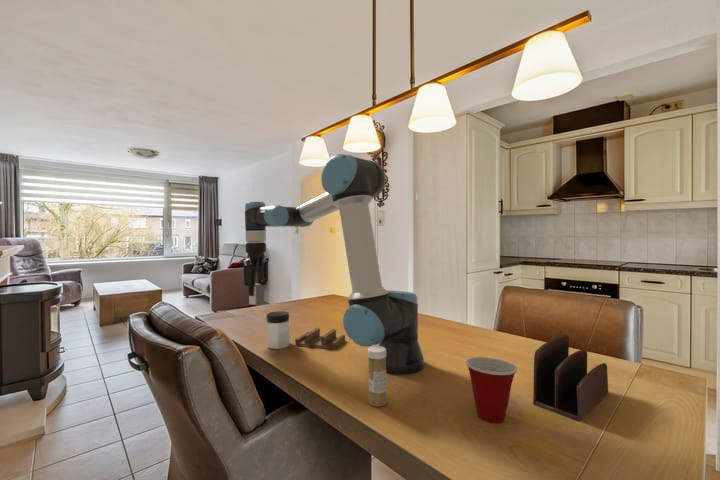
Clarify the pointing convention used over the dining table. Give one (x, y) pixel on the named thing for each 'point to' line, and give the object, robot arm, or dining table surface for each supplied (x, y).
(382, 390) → the sprinkles bottle
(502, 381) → the plastic cup
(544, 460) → the dining table surface
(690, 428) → the dining table surface
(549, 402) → the letter holder
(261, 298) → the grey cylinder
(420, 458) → the dining table surface
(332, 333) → the brown slotted rack
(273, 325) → the jar
